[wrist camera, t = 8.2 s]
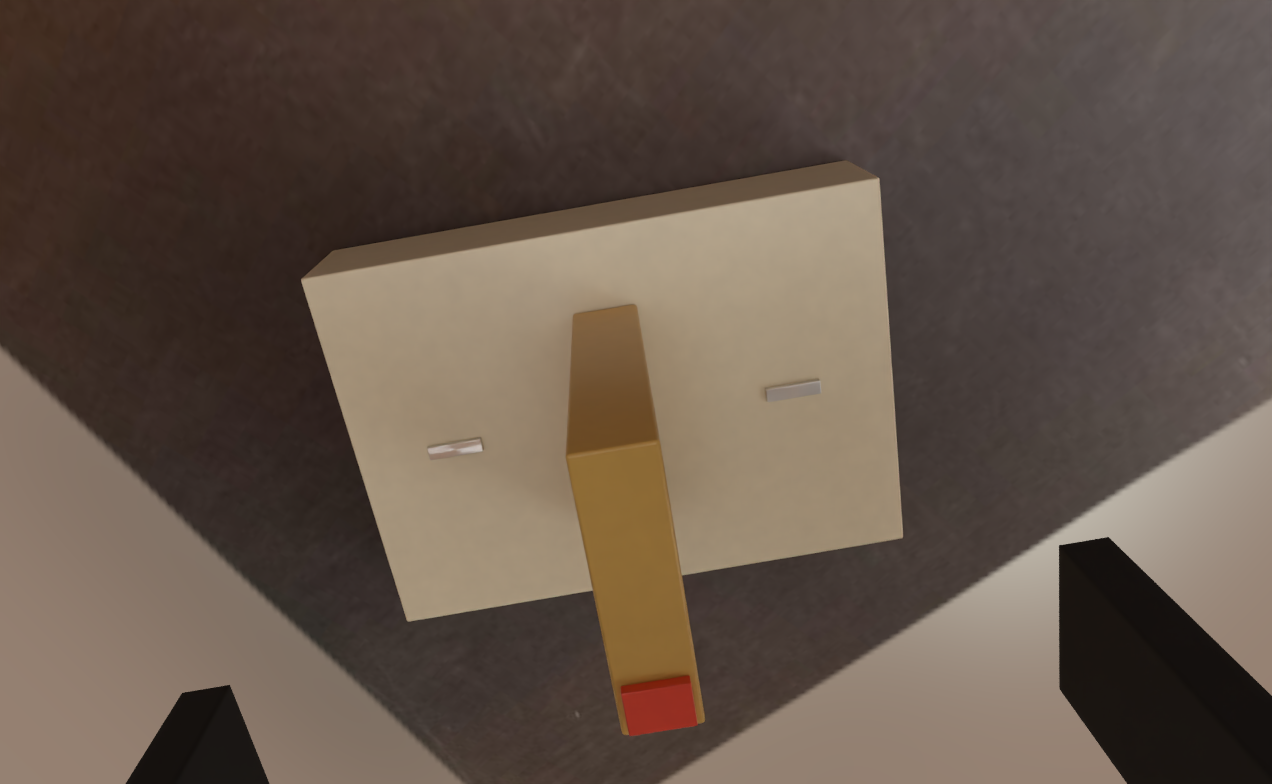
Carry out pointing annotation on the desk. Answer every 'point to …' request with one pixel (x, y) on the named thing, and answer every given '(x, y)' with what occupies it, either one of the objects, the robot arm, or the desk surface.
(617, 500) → the tan box with red
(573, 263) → the lock plate
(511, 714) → the desk surface
